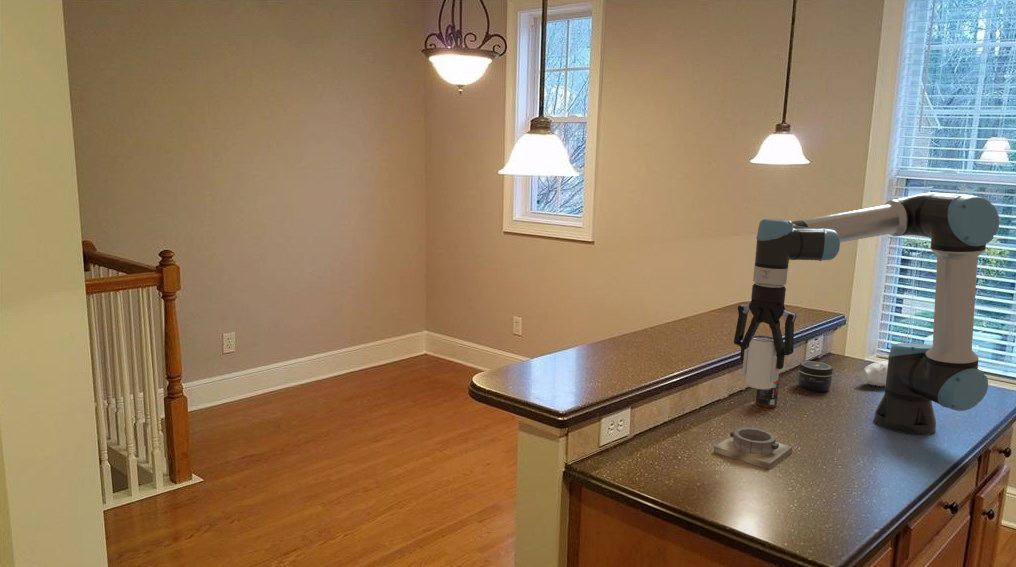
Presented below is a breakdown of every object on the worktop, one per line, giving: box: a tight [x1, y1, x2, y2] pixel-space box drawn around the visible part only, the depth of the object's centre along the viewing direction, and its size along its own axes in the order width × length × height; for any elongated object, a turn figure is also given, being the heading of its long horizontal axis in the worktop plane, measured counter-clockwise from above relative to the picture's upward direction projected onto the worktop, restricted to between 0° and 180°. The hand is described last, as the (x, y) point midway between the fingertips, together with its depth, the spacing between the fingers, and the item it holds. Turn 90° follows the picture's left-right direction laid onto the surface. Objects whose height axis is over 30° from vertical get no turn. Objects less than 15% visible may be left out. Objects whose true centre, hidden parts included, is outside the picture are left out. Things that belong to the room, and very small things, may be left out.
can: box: [745, 334, 777, 390], centre depth 178 cm, size 6×6×12 cm
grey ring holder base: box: [713, 427, 793, 470], centre depth 182 cm, size 14×14×4 cm
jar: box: [797, 360, 834, 393], centre depth 235 cm, size 10×10×8 cm
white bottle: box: [857, 360, 888, 387], centre depth 241 cm, size 8×19×8 cm, turn 110°
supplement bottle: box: [755, 377, 780, 409], centre depth 216 cm, size 6×6×11 cm
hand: (759, 377), depth 179 cm, fingers closed on can, 6 cm apart
